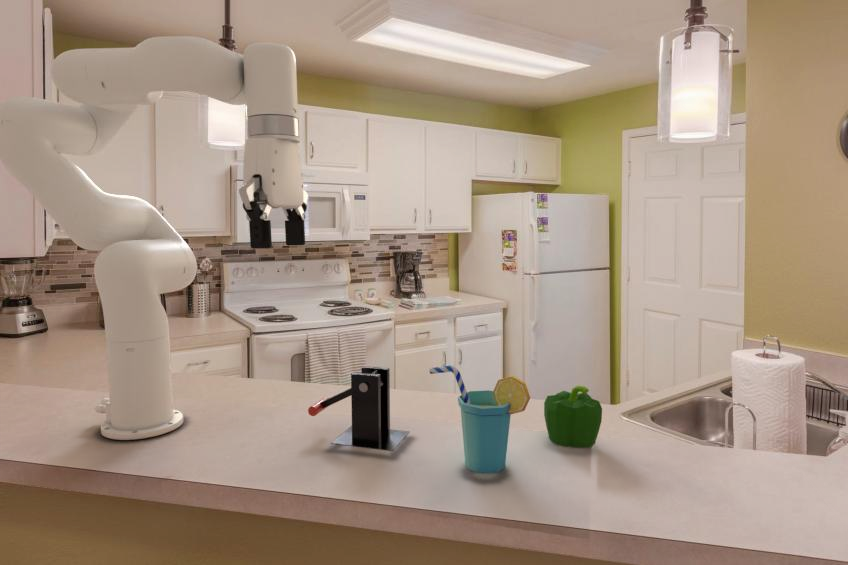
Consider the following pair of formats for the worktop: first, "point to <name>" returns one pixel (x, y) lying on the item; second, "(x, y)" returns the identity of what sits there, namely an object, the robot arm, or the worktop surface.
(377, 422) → the bracket
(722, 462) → the worktop surface
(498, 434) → the cup
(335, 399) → the lever
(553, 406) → the bell pepper
